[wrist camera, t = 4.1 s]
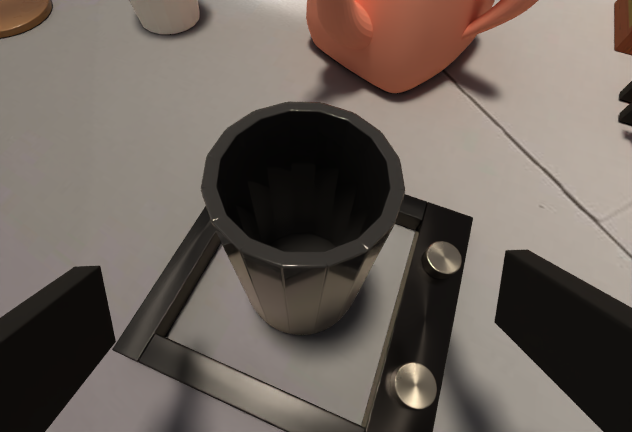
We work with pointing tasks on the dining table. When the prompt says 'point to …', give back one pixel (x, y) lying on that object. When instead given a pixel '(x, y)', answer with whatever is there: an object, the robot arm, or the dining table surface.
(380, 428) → the square frame with knob
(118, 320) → the dining table surface
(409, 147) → the dining table surface
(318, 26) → the pot
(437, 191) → the dining table surface
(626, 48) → the box
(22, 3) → the coaster
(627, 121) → the figurine
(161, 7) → the white cup
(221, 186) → the gray cup
